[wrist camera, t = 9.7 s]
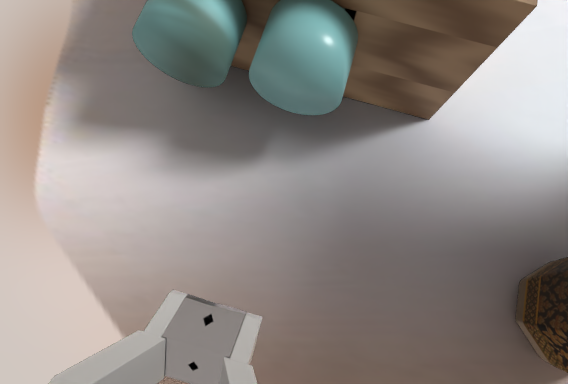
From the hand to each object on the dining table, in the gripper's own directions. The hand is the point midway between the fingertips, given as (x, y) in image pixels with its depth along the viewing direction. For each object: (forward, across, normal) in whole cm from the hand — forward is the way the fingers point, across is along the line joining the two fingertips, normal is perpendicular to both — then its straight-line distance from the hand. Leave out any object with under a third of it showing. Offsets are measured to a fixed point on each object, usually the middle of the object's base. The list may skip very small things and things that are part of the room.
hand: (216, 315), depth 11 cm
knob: (+20, +1, -7) cm, 21 cm away
